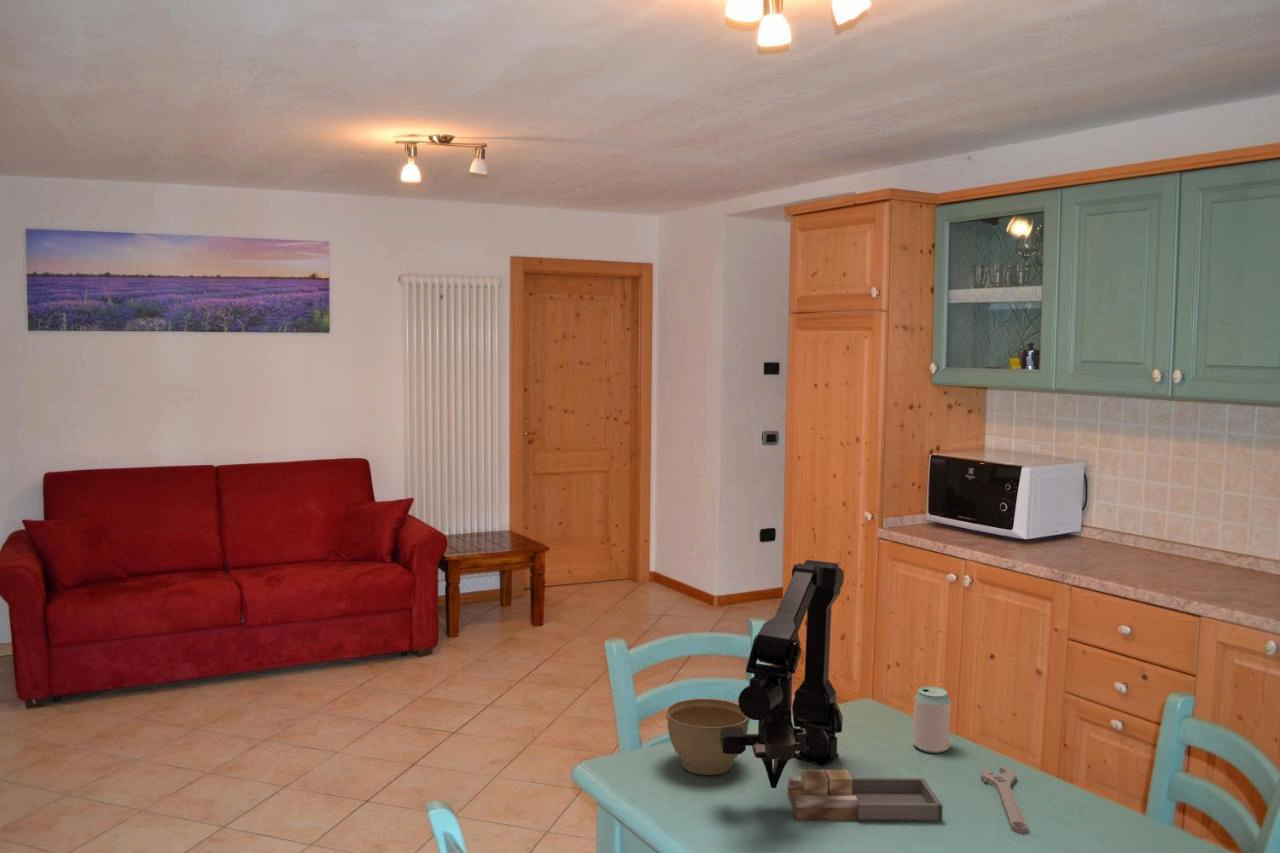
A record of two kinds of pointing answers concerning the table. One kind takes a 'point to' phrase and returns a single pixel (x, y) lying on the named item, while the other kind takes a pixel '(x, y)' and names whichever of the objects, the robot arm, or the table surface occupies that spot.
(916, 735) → the can
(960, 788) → the table surface
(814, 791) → the brown wooden cube
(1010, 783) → the adjustable wrench
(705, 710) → the planter bowl
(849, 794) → the light brown cube
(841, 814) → the slot board
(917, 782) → the tray
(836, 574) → the robot arm
